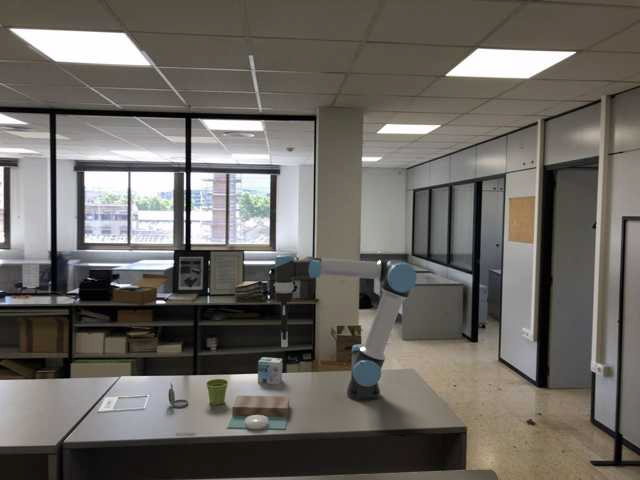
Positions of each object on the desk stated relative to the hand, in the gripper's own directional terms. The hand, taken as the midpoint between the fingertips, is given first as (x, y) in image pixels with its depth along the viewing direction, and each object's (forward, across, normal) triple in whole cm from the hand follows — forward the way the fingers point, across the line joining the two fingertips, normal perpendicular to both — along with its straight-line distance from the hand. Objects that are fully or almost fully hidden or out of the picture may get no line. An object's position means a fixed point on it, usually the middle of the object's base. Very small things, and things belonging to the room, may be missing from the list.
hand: (284, 346), depth 206 cm
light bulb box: (+25, -27, -8) cm, 38 cm away
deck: (+25, +8, -10) cm, 28 cm away
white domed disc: (+24, +21, -10) cm, 34 cm away
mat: (+25, +19, -10) cm, 33 cm away
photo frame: (+24, +1, -67) cm, 71 cm away
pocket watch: (+24, +2, -45) cm, 51 cm away
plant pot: (+24, -1, -29) cm, 38 cm away
